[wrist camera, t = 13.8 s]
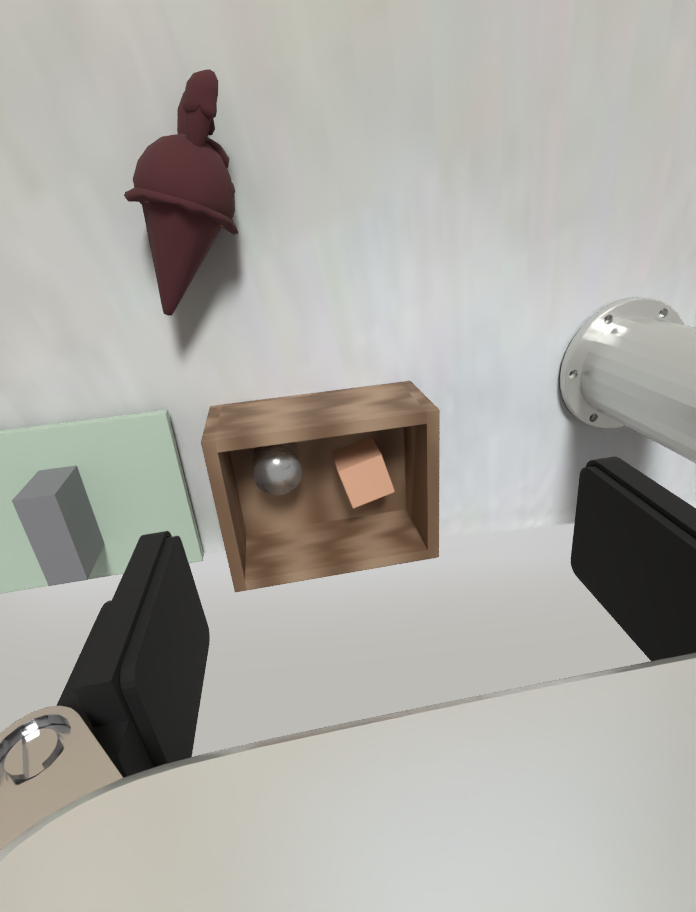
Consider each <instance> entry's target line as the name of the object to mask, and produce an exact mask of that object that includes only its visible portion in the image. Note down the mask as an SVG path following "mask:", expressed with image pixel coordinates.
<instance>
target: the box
mask: <svg viewBox="0 0 696 912" xmlns="http://www.w3.org/2000/svg"><path fill="white" fill-rule="evenodd" d="M370 437H372V438H373V440H374V442H375V444H376V445H377V447H378V449H379V451H380V453H381V454H382V457H383V460H384V463H385V466H386V468H387V471H388V474H389V477H390V480H391V482H392V485H393V488H394V491H395V492H393V493H391V494H388V495H386V496H383V497H381V498H378V499H376V500H373V501H371V502H368V503H366V504H363V505H361V506H358V507H356V508H353V507H352V504H351V502H350V500H349V497H348V495H347V492H346V490H345V488H344V485H343V483H342V480H341V478H340V475H339V473H338V470H337V467H336V464H335V461H334V458H333V455H332V452H334V451H337V450H339V449H342V448H344V447H347V446H349V445H352V444H354V443H357V442H359V441H362V440H365V439H367V438H370ZM291 442H294V443H295V444H296V446H297V449H298V454H299V459H300V465H301V470H302V477H301V480H300V482H299V484H298V486H297V487H296V488H295V489H294V490H292V491H291V492H289V493H287V494H283V495H271V494H268V493H265V492H264V491H262V490H261V489H260V488H259V487H258V486H257V484H256V483H255V480H254V449H255V447H262V446H269V445H276V444H283V443H291ZM201 444H202V449H203V453H204V458H205V462H206V466H207V471H208V475H209V480H210V484H211V488H212V493H213V497H214V502H215V506H216V510H217V515H218V519H219V524H220V528H221V532H222V537H223V541H224V546H225V550H226V554H227V558H228V563H229V568H230V572H231V576H232V581H233V585H234V589H235V592H240V591H245V590H251V589H257V588H263V587H269V586H274V585H280V584H286V583H291V582H298V581H303V580H309V579H315V578H321V577H326V576H332V575H338V574H344V573H350V572H355V571H362V570H367V569H373V568H379V567H385V566H390V565H396V564H402V563H408V562H414V561H419V560H425V559H431V558H436V557H439V409H438V408H437V407H436V406H435V405H434V404H433V403H432V402H431V401H430V400H429V399H428V398H427V397H426V396H425V395H424V394H423V393H422V392H421V391H420V390H419V389H418V388H417V387H416V386H415V385H414V384H413V383H412V382H411V381H406V382H398V383H390V384H382V385H374V386H366V387H358V388H350V389H343V390H335V391H327V392H319V393H311V394H303V395H295V396H287V397H279V398H272V399H264V400H256V401H248V402H240V403H232V404H224V405H216V406H210V409H209V413H208V417H207V421H206V425H205V429H204V432H203V436H202V440H201Z"/></svg>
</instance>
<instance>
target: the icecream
mask: <svg viewBox="0 0 696 912" xmlns="http://www.w3.org/2000/svg"><path fill="white" fill-rule="evenodd" d="M217 96H218V80H217V77H216V75H215V73H214V72H213V71H211V70H210V69H209V70H203V71H199V72H196V73H193V75H192V76H191V77H190V79H189V80H188V81H187V84H186V89H185V92H184V93H183V96H182V98H181V101H180V104H179V107H178V129H177V131H178V134H177V135H170V136H163V137H161V138H159V139H158V140H156V141H155V142H154V143H152V144H151V145H149V146H148V147H147V148H146V150H145V151H144V153H143V154H142V155H141V157H140V158H139V160H138V162H137V166H136V169H135V173H134V177H133V182H134V187H135V188H133V189H131V190H129V191H127V192H125V194H124V196H125V198H126V199H127V200H128V201H139V202H140V203H141V204H142V207H143V212H144V217H145V222H146V227H147V232H148V237H149V242H150V247H151V252H152V257H153V262H154V267H155V272H156V277H157V282H158V287H159V293H160V298H161V303H162V308H163V312H164V314H166V315H172V314H173V312H174V311H175V309H176V308H177V306H178V304H179V302H180V300H181V298H182V297H183V295H184V293H185V291H186V289H187V288H188V286H189V284H190V282H191V280H192V279H193V277H194V275H195V273H196V272H197V270H198V268H199V266H200V264H201V263H202V261H203V259H204V257H205V255H206V254H207V252H208V250H209V248H210V247H211V245H212V243H213V241H214V239H215V238H216V236H217V234H218V232H219V231H220V229H221V228H224V229H227V230H228V231H229V232H231V233H232V234H233V235H234V234H237V233H238V231H237V229H236V227H235V225H234V223H233V221H232V217H233V215H234V212H235V201H234V193H235V189H234V185H233V183H232V182H231V178H230V175H229V173H228V170H227V168H228V163H229V157H228V156H227V154H226V153H225V151H224V150H223V148H222V147H221V145H219V144H218V143H216V142H215V141H213V140H212V139H209V138H207V136H208V134H209V135H212V134H213V132H214V130H215V126H214V120H213V118H214V117H216V112H217V109H216V103H217Z"/></svg>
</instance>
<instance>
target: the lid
mask: <svg viewBox="0 0 696 912" xmlns="http://www.w3.org/2000/svg"><path fill="white" fill-rule="evenodd" d="M164 531H169V532H170V533H171V535H172V537H173V536H179V537H180V538H181V541H182V543H183V547H184V550H185V553H186V556H187V560H188V563H192V562H198V561H203V555H204V554H203V550H202V546H201V542H200V538H199V534H198V530H197V526H196V522H195V518H194V514H193V510H192V506H191V502H190V498H189V494H188V490H187V486H186V482H185V478H184V474H183V470H182V466H181V462H180V458H179V454H178V450H177V446H176V442H175V438H174V434H173V430H172V426H171V422H170V418H169V414H168V410H161V411H153V412H145V413H137V414H129V415H121V416H113V417H105V418H97V419H89V420H81V421H73V422H65V423H57V424H49V425H41V426H33V427H25V428H16V429H8V430H0V593H5V592H12V591H18V590H25V589H31V588H37V587H43V586H51V585H57V584H64V583H69V582H76V581H82V580H88V579H92V578H99V577H105V576H111V575H117V574H124V572H125V570H126V567H127V565H128V563H129V561H130V558H131V556H132V554H133V551H134V549H135V547H136V545H137V542H138V540H139V538H140V536H141V535H145V534H151V533H158V532H164Z"/></svg>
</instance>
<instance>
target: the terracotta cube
mask: <svg viewBox="0 0 696 912" xmlns="http://www.w3.org/2000/svg"><path fill="white" fill-rule="evenodd" d="M332 455H333V458H334V461H335V464H336V467H337V470H338V473H339V475H340V478H341V480H342V483H343V485H344V488H345V490H346V492H347V495H348V497H349V500H350V502H351V504H352V507H353V508H356V507H358V506H361V505H363V504H366V503H368V502H371V501H373V500H376V499H378V498H381V497H383V496H386V495H388V494H391V493H393V492H395V491H394V488H393V485H392V482H391V480H390V477H389V474H388V471H387V468H386V466H385V463H384V460H383V457H382V454H381V453H380V451H379V449H378V447H377V445H376V444H375V442H374V440H373V438H372V437H370V438H367V439H365V440H362V441H359V442H357V443H354V444H352V445H349V446H347V447H344V448H342V449H339V450H337V451H334V452H332Z"/></svg>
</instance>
